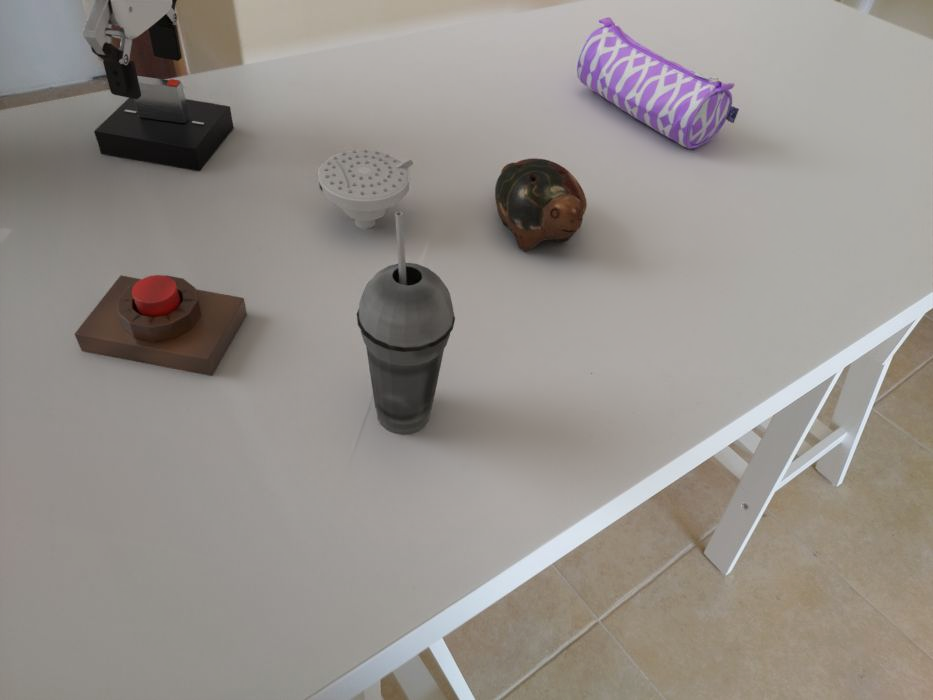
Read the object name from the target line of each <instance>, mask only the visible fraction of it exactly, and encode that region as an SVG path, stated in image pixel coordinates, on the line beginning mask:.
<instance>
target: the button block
mask: <svg viewBox="0 0 933 700" xmlns="http://www.w3.org/2000/svg"><path fill="white" fill-rule="evenodd" d="M163 276H167V277H169V278H171V279H173V280H174V281H175V283H176V286H177V290H178V293H179V297H180V304H179V306H178V308H177V309H176V310H175V311H173V312H171V313H170V314H168V315H164V316H158V317H148V316H144V315H142V314H141V313H140V312H139V311H138V310H137V307H136V304H135V301H134V298H133V295H132V289H133V287H134V285H135V284H136V283H137V282H138V281H140V280H141V279H142V278H136V277H132V276H127V275H119V277H118V278H117V279H116V280H115V282H114V283H113V284H112V286H111V287H109V289H108V290H107V292H106V293H105V295H104V296H103V297H102V298H101V300H100V301H99V302H98V303H97V304H96V306H95V307H94V308H93V310H92V311H91V312H90V313H89V315H88V316H87V317H86V318H85V320H84V321H83V322H82V323H81V325H80V326H79V327H78V329H77V330H76V331H75V332H74V337H75V340H76V341H77V344H78V347H79V348H80V351H81V352H84V353H90V354H94V355H100V356H106V357H110V358H116V359H121V360H126V361H131V362H137V363H142V364H148V365H153V366H157V367H162V368H168V369H172V370H173V369H174V370H178V371H183V372H189V373H193V374H194V373H195V374H199V375H205V376H209V377H213V376H214V374H215V372H216V370H217V369H218V367H219V365H220V364H221V361H222V360H223V358H224V356H225V354H226V353H227V351H228V349H229V348H230V346H231V344H232V342H233V341H234V339H235V337H236V335H237V334H238V331H239V330H240V328H241V327H242V325H243V323H244V321H245V320H246V318H247V316H248V313H247V306H246V302H245V301H246V300H245V298H244V297H240V296H235V295H229V294H225V293H224V294H223V293H219V292H213V291H208V290H202V289H197V288H196V287H195V286H194V285H192V284H191V283H190V282H188V281H187V280H186V279H185V278H182V277H178V276H177V277H176V276H173V275H163Z"/></svg>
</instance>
